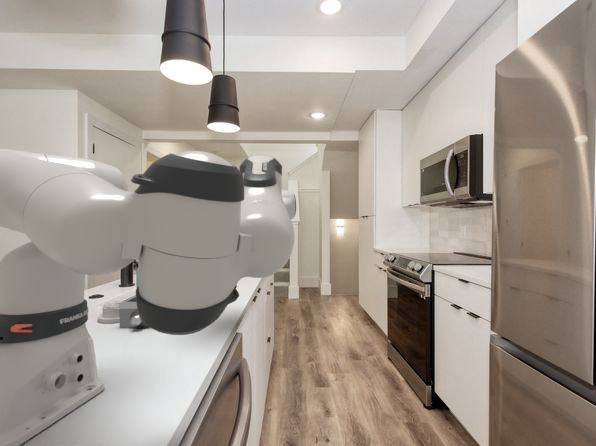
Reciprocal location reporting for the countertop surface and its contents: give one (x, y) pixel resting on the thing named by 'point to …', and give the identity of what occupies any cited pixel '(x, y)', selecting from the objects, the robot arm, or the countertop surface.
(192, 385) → the countertop surface
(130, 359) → the countertop surface
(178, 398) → the countertop surface
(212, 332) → the countertop surface
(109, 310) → the mechanical component
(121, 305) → the motor
